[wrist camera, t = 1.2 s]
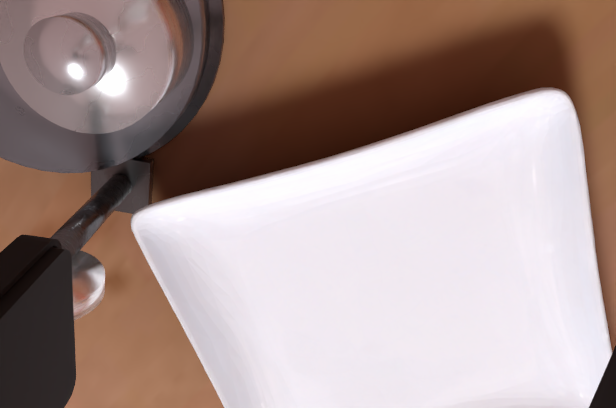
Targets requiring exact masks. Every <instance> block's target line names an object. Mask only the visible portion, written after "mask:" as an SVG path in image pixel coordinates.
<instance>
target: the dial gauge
mask: <svg viewBox="0 0 616 408" xmlns="http://www.w3.org/2000/svg"><path fill="white" fill-rule="evenodd" d="M153 167H154V159H150V158H144V157H141V158H139V159H130V160H127V161H125V162H123V163H121V164H119V165H116V166H112V167H109V168H105V169H102V170H97V171H91V198H90V199H89V200H88V201H87V202H86V203H85V204H84V205H83V206H82V207H81V208H80V209H79V210H78V211H77V212H76V213H75V214H74V215H73V216H72V217H71V218H70V219H69V220H68V221H67V222H66V223H65V224H64V225H63V226H62V227H61V228H60V229H59V230H58V231H57V232H56V233H55V234H54V235H53V236H52V237H51V239H57V240H58V241H60V243H61V246H62V249H67V250H69V251H70V253H71V259H72V285H73V311H74V320H76V319H78V318H80V317H82V316H84V315H86V314H88V313H89V312H90V311H92V310H93V309H94V308H95V307H97V306H98V304H99V303H100V302H101V300H102V298H103V296H104V291H105V271H104V267H103V265H102V264H101V262H100V261H99V260H98V259H96V258H95V257H93V256H92V255H90V254H88V253H86V252H83V251H80V249H81V248H82V247H83V246H84V245H85V244H86V242H87V241H88V240H89V239H90V238H91V237H92V236H93V234H94V233H95V232H96V231H97V230H98V229H99V227H100V226H101V225H102V224H103V223H104V222H105V221H106V219H107V218H108V217H109V216H110V215H111V214H112V213H113V211H114V210H115V211H120V212H126V213H132V214H134V213H135V212H136V211H137V210H139V209H141V208H143V207H145V206H147V205H150V204H152V187H153Z"/></svg>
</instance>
